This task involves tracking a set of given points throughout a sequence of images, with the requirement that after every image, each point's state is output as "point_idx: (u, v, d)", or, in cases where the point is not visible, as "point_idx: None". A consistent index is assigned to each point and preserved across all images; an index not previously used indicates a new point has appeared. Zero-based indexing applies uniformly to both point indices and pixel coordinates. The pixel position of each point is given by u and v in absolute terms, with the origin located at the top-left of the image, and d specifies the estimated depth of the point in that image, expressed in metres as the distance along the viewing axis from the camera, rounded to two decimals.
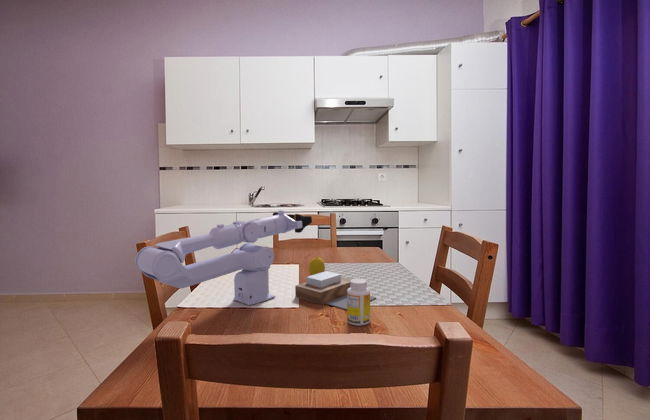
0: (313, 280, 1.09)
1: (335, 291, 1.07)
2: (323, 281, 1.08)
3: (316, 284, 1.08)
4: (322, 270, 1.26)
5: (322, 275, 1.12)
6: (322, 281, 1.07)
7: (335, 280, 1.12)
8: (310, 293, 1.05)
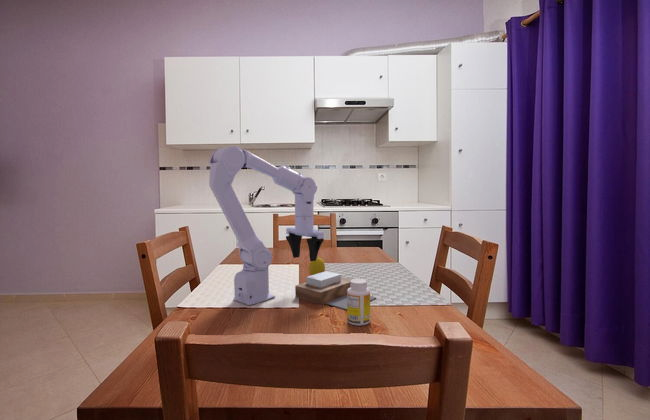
0: (313, 280, 1.09)
1: (335, 291, 1.07)
2: (323, 281, 1.08)
3: (316, 284, 1.08)
4: (322, 270, 1.26)
5: (322, 275, 1.12)
6: (322, 281, 1.07)
7: (335, 280, 1.12)
8: (310, 293, 1.05)
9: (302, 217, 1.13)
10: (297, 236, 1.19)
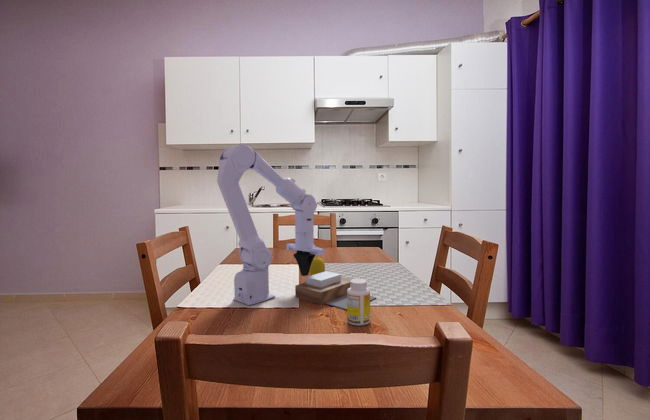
0: (313, 280, 1.09)
1: (335, 291, 1.07)
2: (323, 281, 1.08)
3: (316, 284, 1.08)
4: (322, 270, 1.26)
5: (322, 275, 1.12)
6: (322, 281, 1.07)
7: (335, 280, 1.12)
8: (310, 293, 1.05)
9: (302, 234, 1.14)
10: None
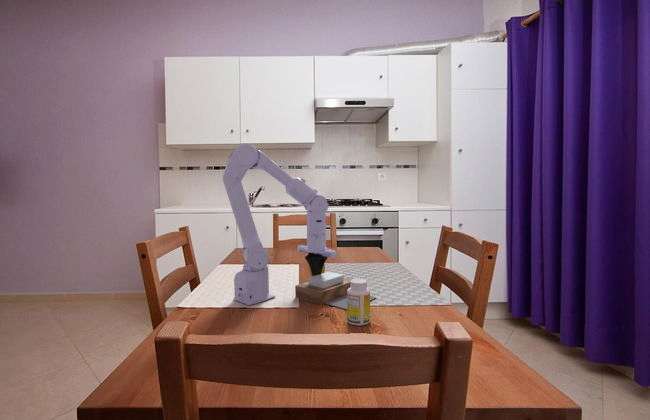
0: (316, 281, 1.08)
1: (335, 291, 1.07)
2: (326, 282, 1.07)
3: (319, 285, 1.08)
4: (322, 270, 1.26)
5: (325, 276, 1.12)
6: (325, 282, 1.07)
7: (338, 281, 1.11)
8: (310, 293, 1.05)
9: (314, 236, 1.10)
10: None
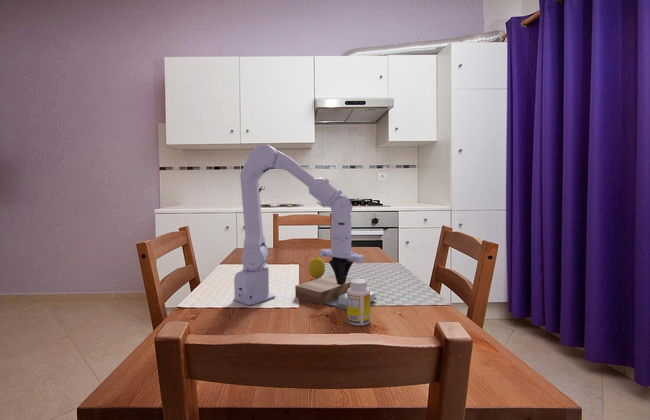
0: (346, 303, 1.01)
1: (335, 291, 1.07)
2: None
3: (343, 299, 1.02)
4: (322, 270, 1.26)
5: None
6: None
7: None
8: (310, 293, 1.05)
9: (340, 239, 1.04)
10: None
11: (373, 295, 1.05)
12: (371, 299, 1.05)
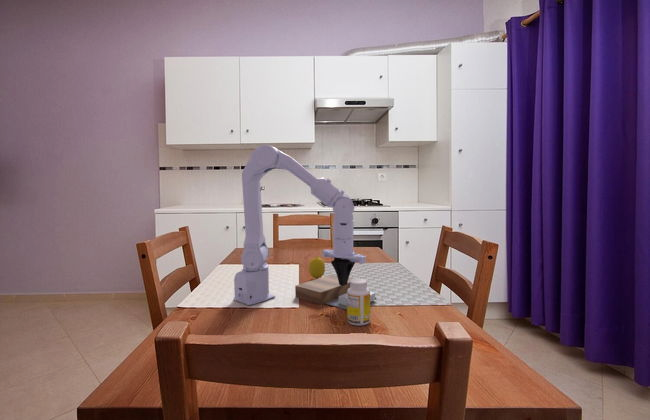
0: (346, 303, 1.01)
1: (335, 291, 1.07)
2: None
3: (343, 299, 1.02)
4: (322, 270, 1.26)
5: None
6: None
7: None
8: (310, 293, 1.05)
9: (342, 240, 1.03)
10: None
11: (373, 295, 1.05)
12: (371, 299, 1.05)
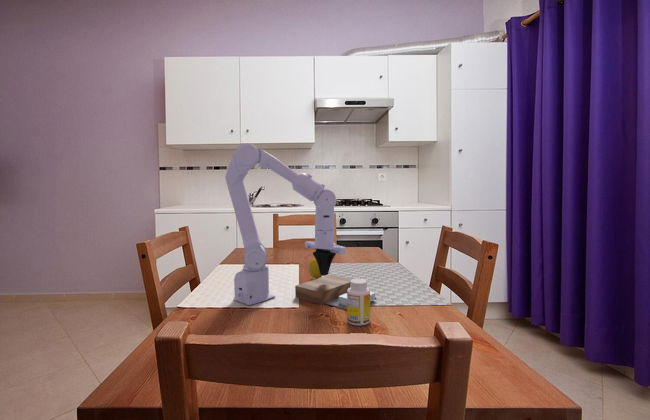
0: (346, 303, 1.01)
1: (335, 291, 1.07)
2: None
3: (343, 299, 1.02)
4: None
5: None
6: None
7: None
8: (310, 293, 1.05)
9: (323, 231, 1.08)
10: None
11: (373, 295, 1.05)
12: (371, 299, 1.05)
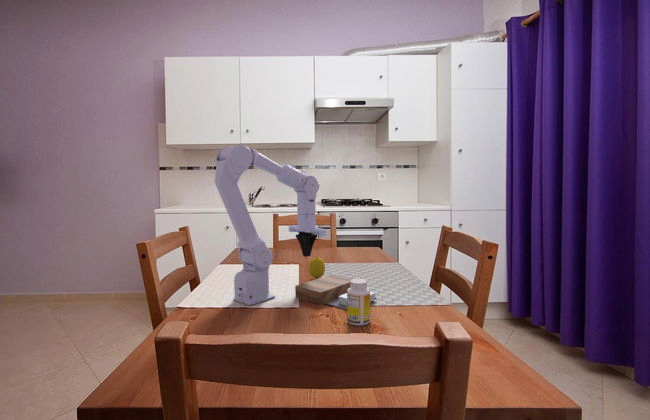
0: (346, 303, 1.01)
1: (335, 291, 1.07)
2: None
3: (343, 299, 1.02)
4: (322, 270, 1.26)
5: None
6: None
7: None
8: (310, 293, 1.05)
9: (304, 215, 1.15)
10: None
11: (373, 295, 1.05)
12: (371, 299, 1.05)
